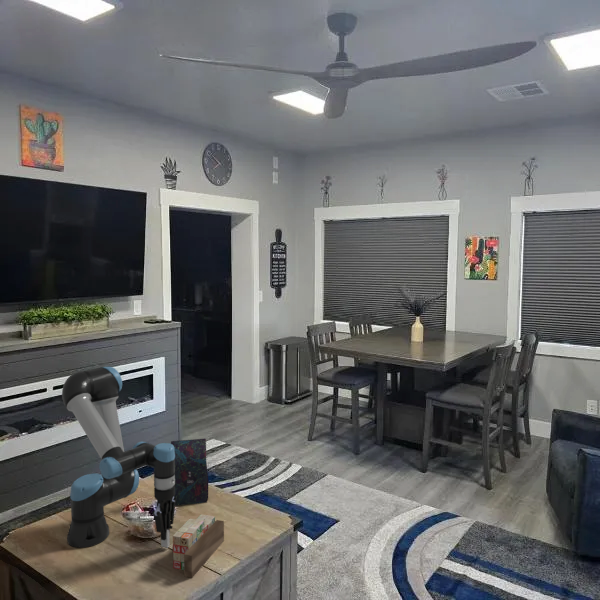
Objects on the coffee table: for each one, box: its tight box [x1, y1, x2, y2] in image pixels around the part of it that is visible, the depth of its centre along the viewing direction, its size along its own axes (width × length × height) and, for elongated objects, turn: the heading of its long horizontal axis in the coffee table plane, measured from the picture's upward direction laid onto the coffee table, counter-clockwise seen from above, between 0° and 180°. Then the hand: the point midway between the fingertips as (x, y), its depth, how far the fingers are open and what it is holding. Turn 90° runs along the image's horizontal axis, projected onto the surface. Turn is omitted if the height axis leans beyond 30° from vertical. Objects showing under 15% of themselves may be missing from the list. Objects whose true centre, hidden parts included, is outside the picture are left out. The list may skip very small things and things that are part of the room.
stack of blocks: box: [172, 514, 216, 571], centre depth 188 cm, size 21×6×12 cm, turn 163°
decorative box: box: [170, 438, 209, 507], centre depth 228 cm, size 8×16×28 cm, turn 104°
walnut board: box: [183, 519, 225, 579], centre depth 186 cm, size 3×24×8 cm, turn 162°
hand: (165, 546), depth 191 cm, fingers closed
